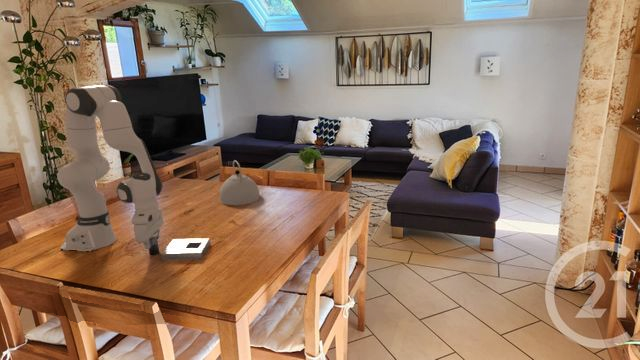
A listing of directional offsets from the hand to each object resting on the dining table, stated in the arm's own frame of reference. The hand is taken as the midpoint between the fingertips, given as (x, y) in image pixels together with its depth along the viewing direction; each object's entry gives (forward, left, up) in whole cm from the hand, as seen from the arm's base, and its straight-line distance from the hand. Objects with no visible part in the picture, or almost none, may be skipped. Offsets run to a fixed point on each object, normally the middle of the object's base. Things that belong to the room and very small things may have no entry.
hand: (152, 243), depth 174 cm
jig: (+14, 0, -5) cm, 15 cm away
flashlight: (0, 0, -5) cm, 5 cm away
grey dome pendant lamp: (+23, +70, -5) cm, 73 cm away
